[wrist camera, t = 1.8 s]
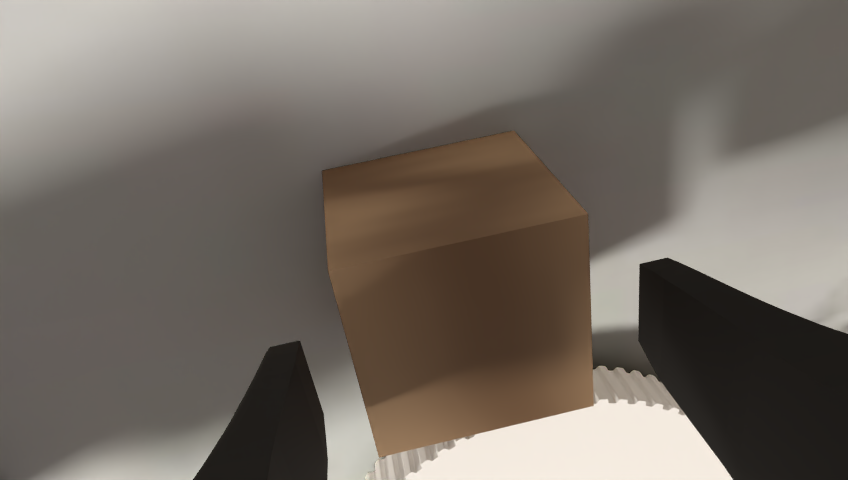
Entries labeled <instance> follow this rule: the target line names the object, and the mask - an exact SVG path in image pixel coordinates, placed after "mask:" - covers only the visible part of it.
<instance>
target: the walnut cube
mask: <svg viewBox="0 0 848 480" xmlns="http://www.w3.org/2000/svg"><path fill="white" fill-rule="evenodd" d="M322 177H323V194H324V212H325V229H326V246H327V263H328V273H329V277H330V280H331V284H332V288H333V291H334V295H335V298H336V302H337V306H338V309H339V313H340V317H341V320H342V324H343V328H344V331H345V335H346V338H347V342H348V346H349V349H350V353H351V357H352V360H353V364H354V368H355V371H356V375H357V378H358V382H359V386H360V389H361V393H362V397H363V400H364V404H365V408H366V411H367V415H368V419H369V422H370V426H371V429H372V433H373V437H374V440H375V444H376V448H377V451H378V455H379V457H384V456H388V455H392V454H396V453H400V452H404V451H409V450H413V449H417V448H421V447H425V446H429V445H433V444H438V443H442V442H446V441H450V440H454V439H458V438H463V437H467V436H471V435H475V434H479V433H483V432H487V431H492V430H496V429H500V428H504V427H508V426H512V425H516V424H521V423H525V422H529V421H533V420H537V419H541V418H546V417H550V416H554V415H558V414H562V413H566V412H570V411H575V410H579V409H583V408H587V407H591V406H594V397H593V363H592V329H591V295H590V260H589V226H588V213H587V212H586V211H585V210H584V209H583V208H582V206H581V205H580V204H579V203H578V202H577V201H576V200H575V199H574V197H573V196H572V195H571V194H570V193H569V192H568V191H567V190H566V188H565V187H564V186H563V185H562V184H561V183H560V182H559V181H558V179H557V178H556V177H555V176H554V175H553V174H552V173H551V172H550V170H549V169H548V168H547V167H546V166H545V165H544V164H543V163H542V161H541V160H540V159H539V158H538V157H537V156H536V155H535V154H534V152H533V151H532V150H531V149H530V148H529V147H528V146H527V145H526V143H525V142H524V141H523V140H522V139H521V138H520V137H519V136H518V134H517V133H516V132H515V131H509V132H504V133H499V134H495V135H490V136H485V137H480V138H476V139H471V140H466V141H461V142H456V143H452V144H447V145H442V146H437V147H433V148H428V149H423V150H418V151H414V152H409V153H404V154H399V155H394V156H390V157H385V158H380V159H375V160H371V161H366V162H361V163H356V164H352V165H347V166H342V167H337V168H332V169H328V170H323V171H322Z"/></svg>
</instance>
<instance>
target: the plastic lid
mask: <svg viewBox="0 0 848 480" xmlns="http://www.w3.org/2000/svg"><path fill="white" fill-rule="evenodd" d="M593 397H594V406H591V407H587V408H583V409H579V410H575V411H570V412H566V413H562V414H558V415H554V416H550V417H546V418H541V419H537V420H533V421H529V422H525V423H521V424H516V425H512V426H508V427H504V428H500V429H496V430H492V431H487V432H483V433H479V434H475V435H471V436H467V437H463V438H458V439H454V440H450V441H446V442H442V443H438V444H433V445H429V446H425V447H421V448H417V449H413V450H409V451H404V452H400V453H396V454H392V455H388V456H386V457H385V458H384V459H378V460H377V461H376V463H375V471H374V472H368V474H367V475H366V477H365V480H733V479H732V477H731V476H730V474H729V473H728V472H727V470H726V469H725V467H724V466H723V464H722V463H721V462H720V460H719V459H718V458H717V456H716V455H715V454H714V452H713V451H712V450H711V448H710V447H709V446H708V444H707V443H706V442H705V440H704V439H703V438H702V436H701V435H700V434H699V432H698V431H697V430H696V428H695V427H694V426H693V424H692V423H691V422H690V420H689V419H688V417H687V416H686V415H685V413H684V412H683V411H682V409H681V408H680V407H679V405H678V404H677V403H676V401H675V400H674V399H673V397H672V396H671V394H670V393H669V392H668V390H667V389H666V388H665V386H664V385H663V383H662V382H661V381H660V382H659V381H658V380H657V379H656V377H655V376H653V375H650V374H649V375H647V376H646V377H643V376H642V374H641V373H640V372H639V371H635V370H633V371H632V372H630V373H626V372H625V370H624V369H623V368H619V367H616V368H615V369H614V370H613V371H610V370H608V369H607V368H606V366H598V367H597V368H596V369H595V370H593Z"/></svg>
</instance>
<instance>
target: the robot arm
mask: <svg viewBox="0 0 848 480" xmlns="http://www.w3.org/2000/svg"><path fill="white" fill-rule="evenodd" d="M638 341H639V342H640V344H641V346H642V348H643V350H644V352H645V354H646V356H647V358H648V359H649V361H650V363H651V365H652V367H653V368H654V370H655V372H656V374H657V375H658V377H659V379H660V381H661V382H662V383H663V385H664V386H665V388H666V389H667V390H668V392H669V393H670V394H671V396H672V397H673V399H674V400H675V401H676V403H677V404H678V405H679V407H680V408H681V409H682V411H683V412H684V413H685V415H686V416H687V417H688V419H689V420H690V422H691V423H692V424H693V426H694V427H695V428H696V430H697V431H698V432H699V434H700V435H701V436H702V438H703V439H704V440H705V442H706V443H707V444H708V446H709V447H710V448H711V450H712V451H713V452H714V454H715V455H716V456H717V458H718V459H719V460H720V462H721V463H722V464H723V466H724V467H725V469H726V470H727V472H728V473H729V474H730V476H731V477H732V479H733V480H848V334H846V333H843V332H840V331H837V330H834V329H831V328H828V327H826V326H823V325H820V324H817V323H815V322H812V321H810V320H807V319H805V318H802V317H800V316H797V315H795V314H792V313H789V312H787V311H784V310H782V309H780V308H777V307H775V306H773V305H770V304H768V303H766V302H763V301H761V300H759V299H757V298H754V297H752V296H750V295H748V294H746V293H743V292H741V291H739V290H737V289H735V288H733V287H730V286H728V285H726V284H724V283H722V282H720V281H718V280H716V279H713V278H711V277H709V276H707V275H705V274H703V273H701V272H699V271H697V270H694V269H692V268H690V267H688V266H686V265H684V264H681V263H679V262H677V261H674V260H672V259H669V258H664V259H660V260H655V261H651V262H646V263H642V264H640V275H639V338H638ZM327 468H328V457H327V445H326V434H325V424H324V414H323V411H322V408H321V404H320V401H319V398H318V395H317V392H316V389H315V386H314V383H313V380H312V377H311V374H310V371H309V367H308V364H307V361H306V358H305V355H304V352H303V349H302V346H301V343H300V341H295V342H291V343H286V344H282V345H277V346H273V347H270V348H269V349H268V351H267V352H266V354H265V356H264V358H263V360H262V362H261V364H260V366H259V368H258V370H257V373H256V375H255V377H254V379H253V381H252V382H251V384H250V386H249V388H248V390H247V392H246V394H245V396H244V398H243V400H242V401H241V403H240V405H239V407H238V409H237V410H236V412H235V414H234V416H233V418H232V419H231V421H230V423H229V425H228V426H227V428H226V430H225V431H224V433H223V435H222V436H221V438H220V439H219V441H218V442H217V444H216V446H215V447H214V449H213V450H212V452H211V454H210V455H209V457H208V458H207V460H206V461H205V463H204V464H203V466H202V467H201V469H200V470H199V472H198V473H197V475H196V476H195V477H194V479H193V480H327Z"/></svg>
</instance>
